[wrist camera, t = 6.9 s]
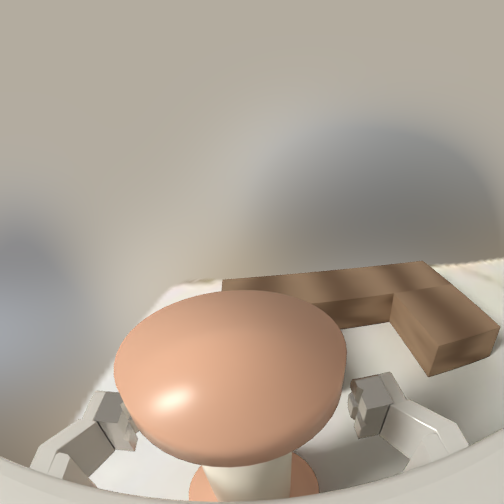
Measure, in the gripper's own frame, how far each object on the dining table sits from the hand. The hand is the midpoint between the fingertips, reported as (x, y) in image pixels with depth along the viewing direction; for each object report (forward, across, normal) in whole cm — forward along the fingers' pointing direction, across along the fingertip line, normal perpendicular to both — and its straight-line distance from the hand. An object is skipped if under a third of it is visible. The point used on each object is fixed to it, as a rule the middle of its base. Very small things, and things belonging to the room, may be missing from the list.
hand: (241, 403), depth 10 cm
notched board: (+13, -9, +8) cm, 18 cm away
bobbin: (-1, 0, +8) cm, 8 cm away
